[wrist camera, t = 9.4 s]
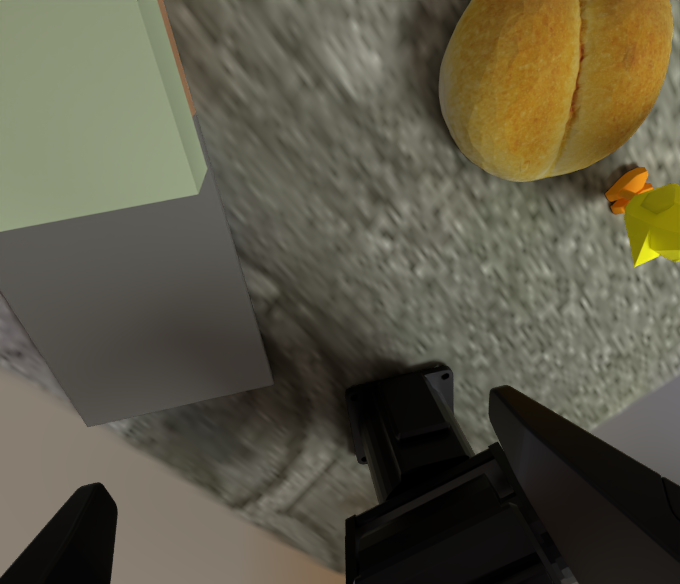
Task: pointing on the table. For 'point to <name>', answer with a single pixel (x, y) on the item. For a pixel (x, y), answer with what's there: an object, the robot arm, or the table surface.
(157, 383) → the mat
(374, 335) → the table surface
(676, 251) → the toy figure
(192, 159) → the lid
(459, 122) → the bread roll
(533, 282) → the table surface
